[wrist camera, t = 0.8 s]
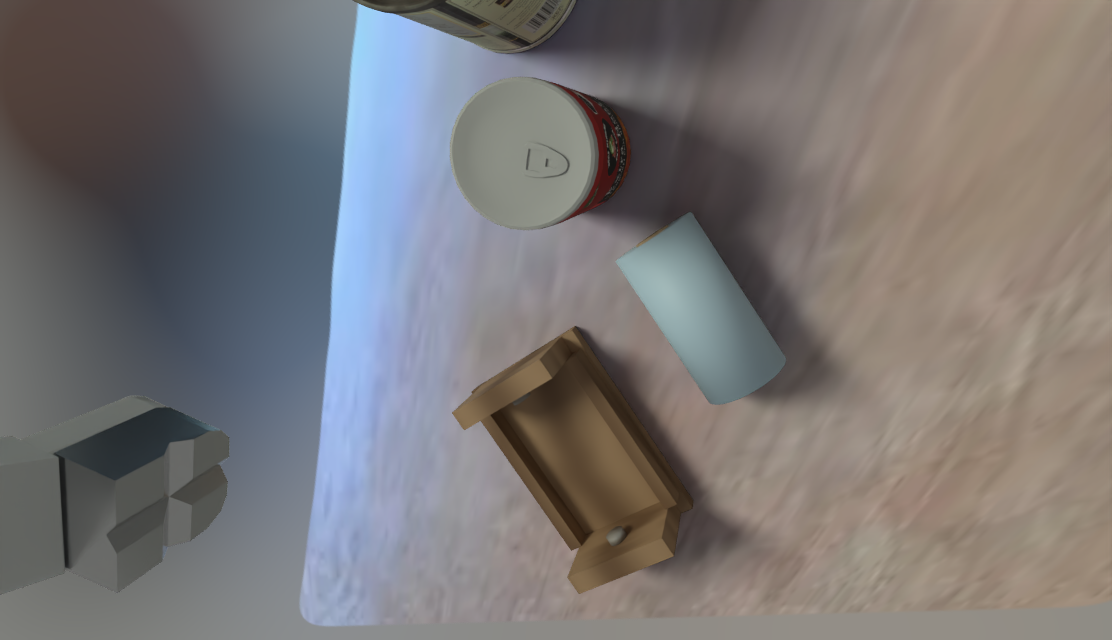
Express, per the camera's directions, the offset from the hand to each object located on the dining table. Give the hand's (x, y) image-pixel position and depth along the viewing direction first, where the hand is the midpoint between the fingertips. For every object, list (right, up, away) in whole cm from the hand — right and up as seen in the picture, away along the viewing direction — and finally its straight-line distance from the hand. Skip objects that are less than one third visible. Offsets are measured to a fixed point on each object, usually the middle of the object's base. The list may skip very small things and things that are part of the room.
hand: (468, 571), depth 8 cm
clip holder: (+3, -6, +38) cm, 38 cm away
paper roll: (+11, +5, +32) cm, 34 cm away
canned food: (+3, +15, +32) cm, 35 cm away
